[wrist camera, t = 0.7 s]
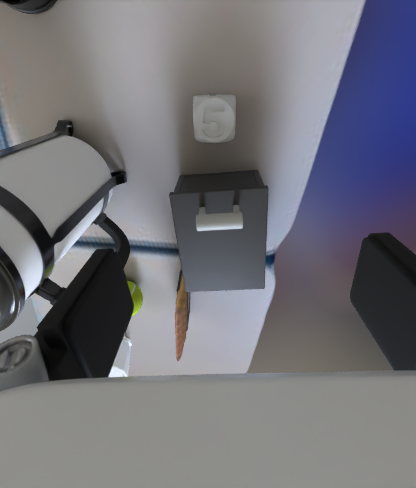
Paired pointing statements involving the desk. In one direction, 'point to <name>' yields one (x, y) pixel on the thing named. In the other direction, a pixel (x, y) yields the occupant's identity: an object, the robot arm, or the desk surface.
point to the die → (214, 117)
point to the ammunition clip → (181, 315)
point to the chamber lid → (221, 237)
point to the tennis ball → (135, 296)
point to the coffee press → (49, 212)
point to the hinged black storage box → (219, 181)
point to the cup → (122, 359)
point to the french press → (30, 5)
